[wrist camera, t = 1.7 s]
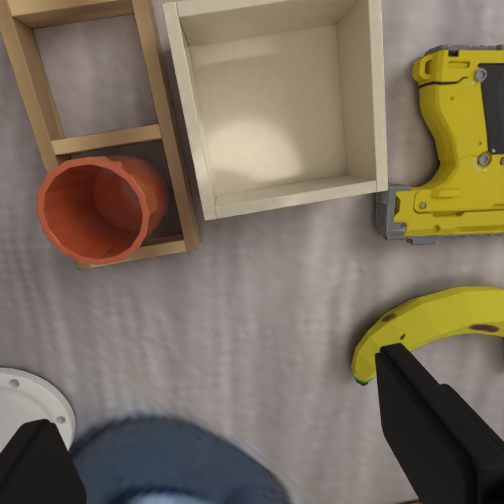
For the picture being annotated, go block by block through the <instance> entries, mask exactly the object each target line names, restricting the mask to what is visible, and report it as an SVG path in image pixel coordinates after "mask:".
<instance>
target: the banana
mask: <svg viewBox="0 0 504 504" xmlns="http://www.w3.org/2000/svg"><path fill="white" fill-rule="evenodd" d="M471 333H482V334H490V335H496V336H500V337H504V290H502V289H500V288H497V287H494V286H474V287H455V288H451V289H447V290H444V291H440V292H436V293H432V294H428V295H425V296H421V297H417V298H413V299H410V300H408V301H407V302H405V303H403V304H401V305H399V306H397V307H396V308H394V309H392V310H390V311H388V312H387V313H385V314H384V315H383V316H382V317H381V318H380V319H379V320H378V321H377V322H376V323H375V324H374V325H373V326H372V327H371V328H370V329H369V330H368V331H367V332H366V334H365V335H364V337H363V338H362V340H361V341H360V342H359V344H358V345H357V347H356V348H355V352H354V356H353V360H352V364H351V367H352V371H353V374H354V378H355V380H356V382H358V383H359V384H361V385H363V386H365V385H367V384H368V382H369V381H370V380H371V379H373V378H374V377H375V376H376V365H375V353H378V352H380V347H381V346H386V345H390V344H395V343H402V344H403V345H404V346H405V347H406V348H407V349H408V350H409V351H412V350H414V349H416V348H418V347H421V346H423V345H425V344H427V343H430V342H432V341H435V340H438V339H442V338H446V337H449V336H453V335H457V334H471Z"/></svg>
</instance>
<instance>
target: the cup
mask: <svg viewBox="0 0 504 504" xmlns="http://www.w3.org/2000/svg"><path fill="white" fill-rule="evenodd" d="M169 204H170V191H169V187H168V184H167V181H166V179H165V177H164V176H163V174H162V173H161V172H160V170H159V169H158V168H157V167H156V166H154V165H153V164H152V163H150V162H149V161H147V160H145V159H143V158H140V157H137V156H130V155H114V156H97V157H85V158H79V159H73V160H67V161H65V162H64V163H62V164H61V165H59V166H58V167H56V168H55V169H53V170H52V171H50V172H49V173H48V175H47V176H46V178H45V180H44V182H43V183H42V185H41V187H40V188H39V190H38V199H37V215H38V218H39V221H40V224H41V226H42V229H43V232H44V234H45V235H46V236H47V237H48V239H49V240H50V241H51V242H52V243H53V245H54V246H55V247H56V248H57V249H58V250H59V251H61V252H62V253H64V254H66V255H68V256H69V257H71V258H73V259H74V260H76V261H79V262H84V263H89V264H94V265H104V264H110V263H115V262H119V261H121V260H123V259H124V258H126V257H127V256H129V255H131V254H132V253H134V252H135V251H136V250H137V249H138V248H139V247H140V246H141V245H142V243H143V242H144V241H145V240H146V239H147V238H148V237H149V235H150V234H151V233H152V232H153V231H154V230H155V229H156V228H157V226H158V225H159V224H160V223H161V221H162V220H163V218H164V217H165V215H166V214H167V211H168V208H169Z"/></svg>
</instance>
